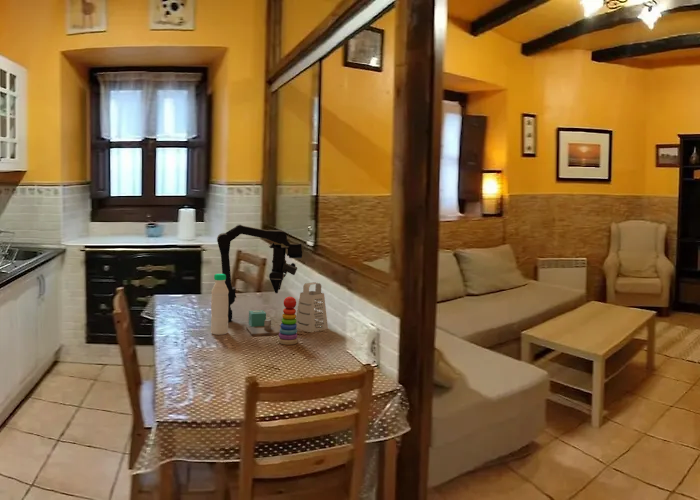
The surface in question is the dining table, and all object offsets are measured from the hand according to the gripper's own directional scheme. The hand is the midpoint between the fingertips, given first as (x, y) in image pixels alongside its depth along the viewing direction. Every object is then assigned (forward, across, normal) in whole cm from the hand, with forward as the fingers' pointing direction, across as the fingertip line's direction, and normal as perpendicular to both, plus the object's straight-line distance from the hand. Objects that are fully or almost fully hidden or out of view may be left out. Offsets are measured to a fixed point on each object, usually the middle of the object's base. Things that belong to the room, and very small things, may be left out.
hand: (277, 291), depth 287 cm
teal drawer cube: (+13, -12, +7) cm, 20 cm away
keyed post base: (+13, -23, +1) cm, 27 cm away
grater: (+13, -14, -17) cm, 26 cm away
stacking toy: (+13, -39, -9) cm, 43 cm away
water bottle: (+14, -28, +20) cm, 37 cm away
